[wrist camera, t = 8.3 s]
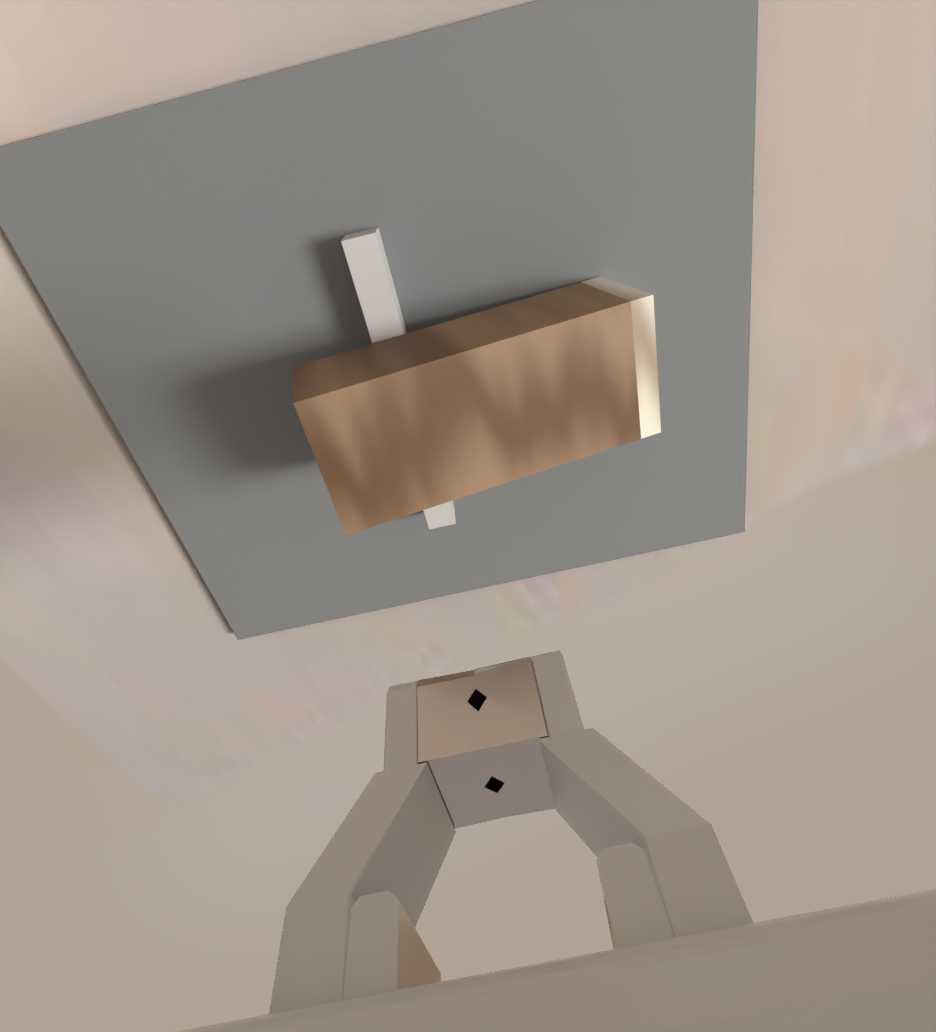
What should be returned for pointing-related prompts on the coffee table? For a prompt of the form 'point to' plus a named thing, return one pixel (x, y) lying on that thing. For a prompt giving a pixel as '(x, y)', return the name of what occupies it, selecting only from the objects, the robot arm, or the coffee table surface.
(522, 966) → the robot arm
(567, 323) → the walnut block
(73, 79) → the coffee table surface
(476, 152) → the slate mat
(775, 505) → the coffee table surface
